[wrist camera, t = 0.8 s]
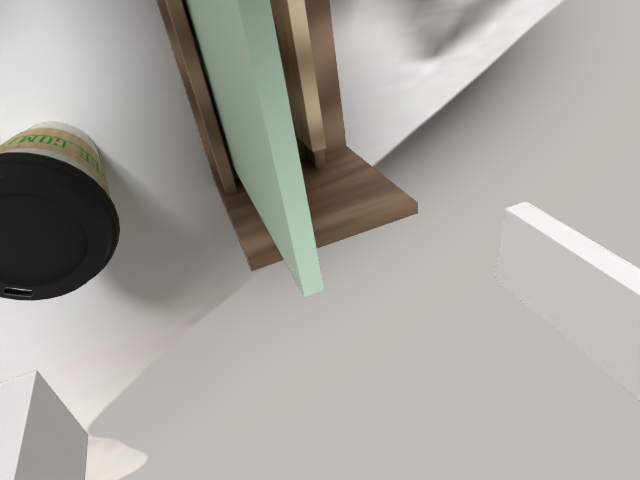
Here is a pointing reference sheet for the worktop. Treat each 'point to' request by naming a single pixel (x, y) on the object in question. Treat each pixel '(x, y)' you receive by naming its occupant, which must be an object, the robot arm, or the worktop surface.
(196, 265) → the worktop surface
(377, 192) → the rack
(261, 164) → the sheet
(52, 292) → the coffee cup
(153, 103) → the worktop surface
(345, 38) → the worktop surface
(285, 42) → the offcut birch
